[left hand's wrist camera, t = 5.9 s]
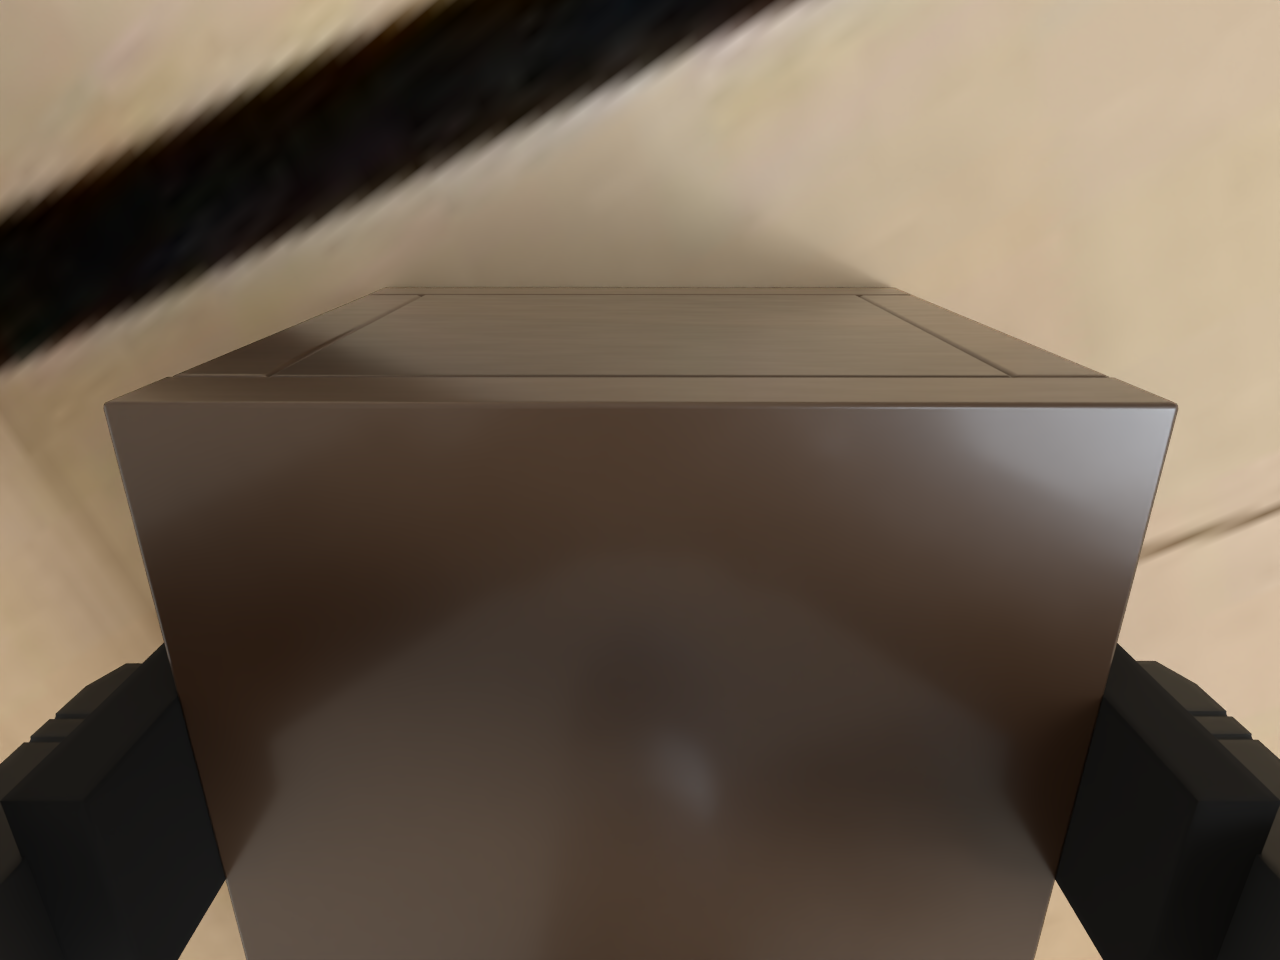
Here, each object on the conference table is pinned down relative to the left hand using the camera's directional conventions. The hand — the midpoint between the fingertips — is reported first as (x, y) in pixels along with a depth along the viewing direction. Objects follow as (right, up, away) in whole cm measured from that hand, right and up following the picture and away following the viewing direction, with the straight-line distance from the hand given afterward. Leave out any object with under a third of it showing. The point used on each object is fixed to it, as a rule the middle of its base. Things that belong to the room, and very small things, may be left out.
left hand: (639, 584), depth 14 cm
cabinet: (0, -4, +5) cm, 6 cm away
